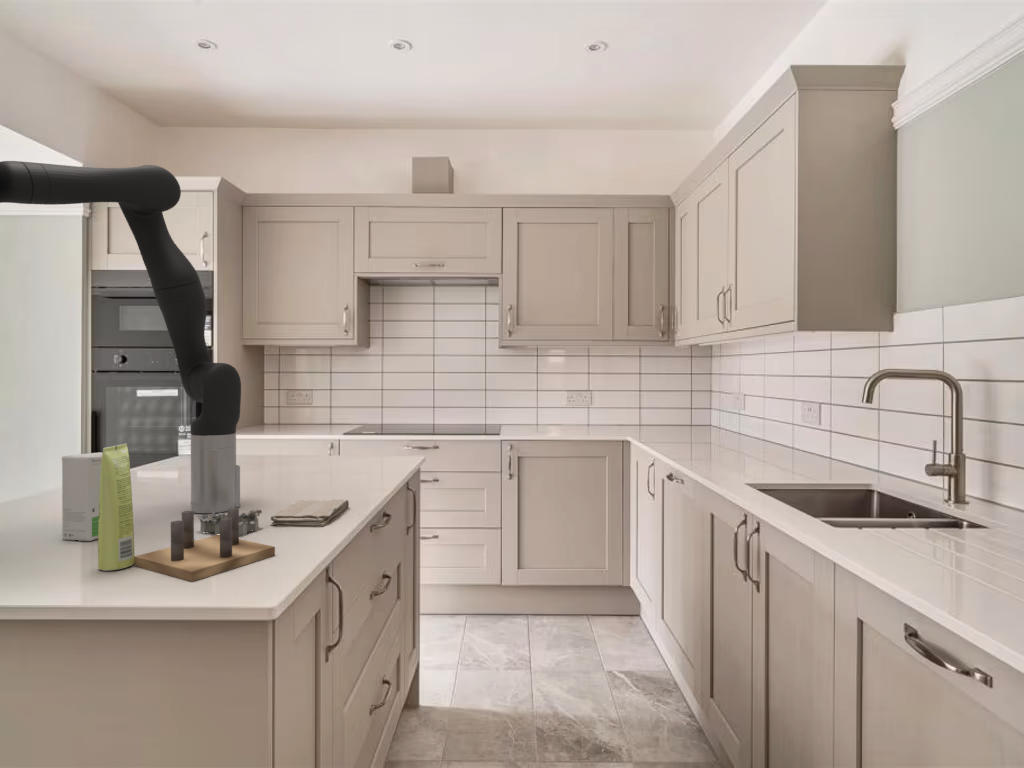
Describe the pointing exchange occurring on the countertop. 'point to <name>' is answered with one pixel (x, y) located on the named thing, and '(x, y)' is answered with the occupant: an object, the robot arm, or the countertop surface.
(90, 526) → the skincare box
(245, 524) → the egg carton
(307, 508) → the washcloth
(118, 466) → the tube
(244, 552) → the cradle
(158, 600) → the countertop surface
